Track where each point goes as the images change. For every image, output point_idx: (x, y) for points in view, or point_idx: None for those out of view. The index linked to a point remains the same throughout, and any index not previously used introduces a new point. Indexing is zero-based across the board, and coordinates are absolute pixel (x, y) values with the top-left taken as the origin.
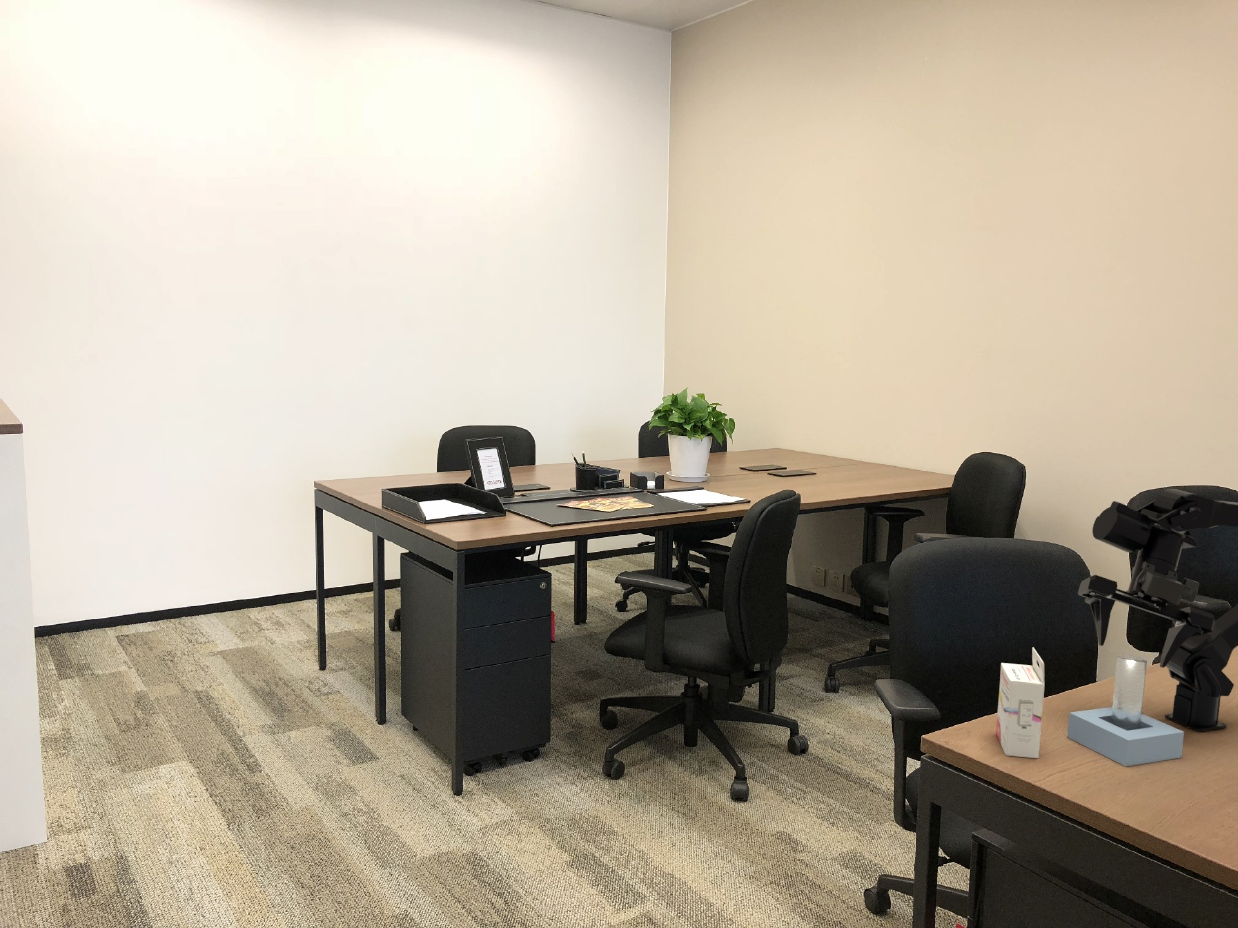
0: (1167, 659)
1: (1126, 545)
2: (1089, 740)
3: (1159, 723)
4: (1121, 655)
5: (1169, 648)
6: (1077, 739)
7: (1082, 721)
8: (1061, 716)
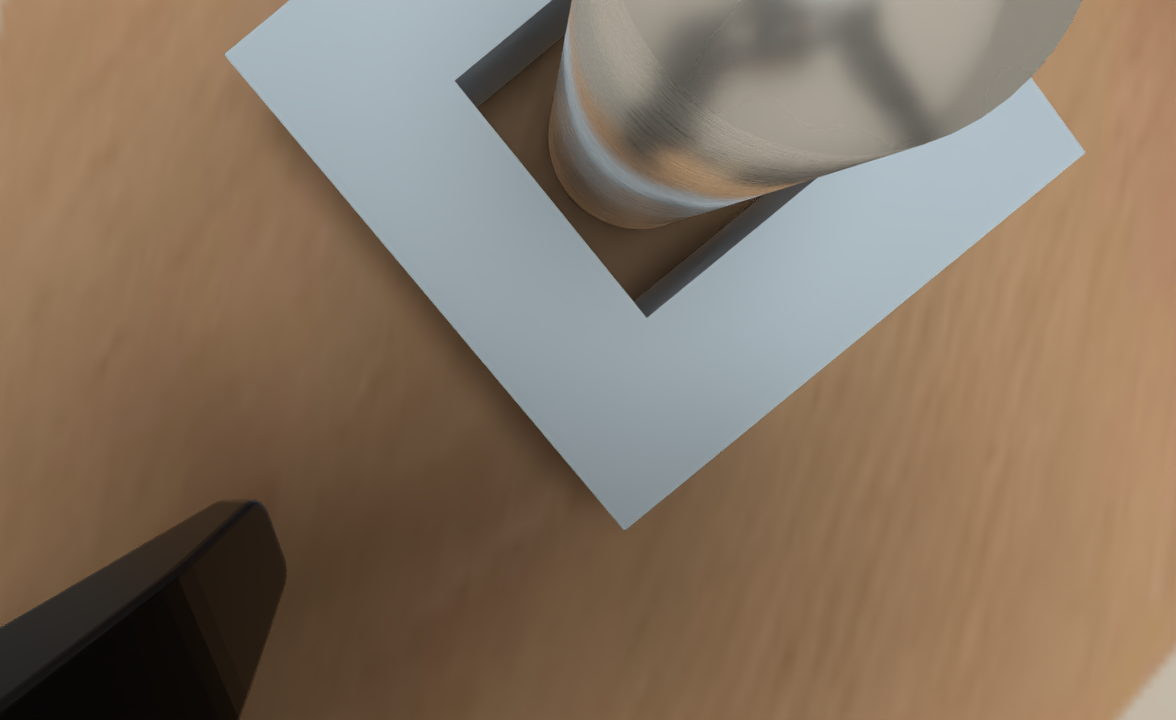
0: (153, 551)
1: None
2: None
3: (394, 190)
4: (1007, 44)
5: (37, 699)
6: None
7: None
8: (965, 573)
